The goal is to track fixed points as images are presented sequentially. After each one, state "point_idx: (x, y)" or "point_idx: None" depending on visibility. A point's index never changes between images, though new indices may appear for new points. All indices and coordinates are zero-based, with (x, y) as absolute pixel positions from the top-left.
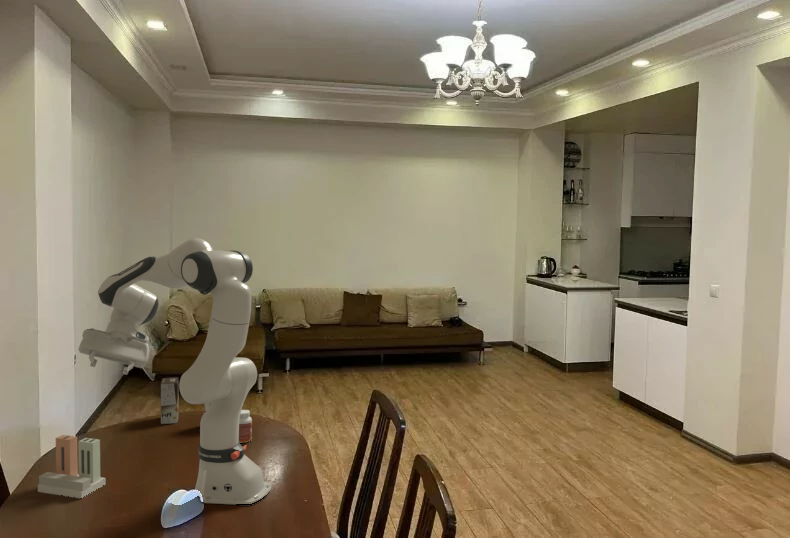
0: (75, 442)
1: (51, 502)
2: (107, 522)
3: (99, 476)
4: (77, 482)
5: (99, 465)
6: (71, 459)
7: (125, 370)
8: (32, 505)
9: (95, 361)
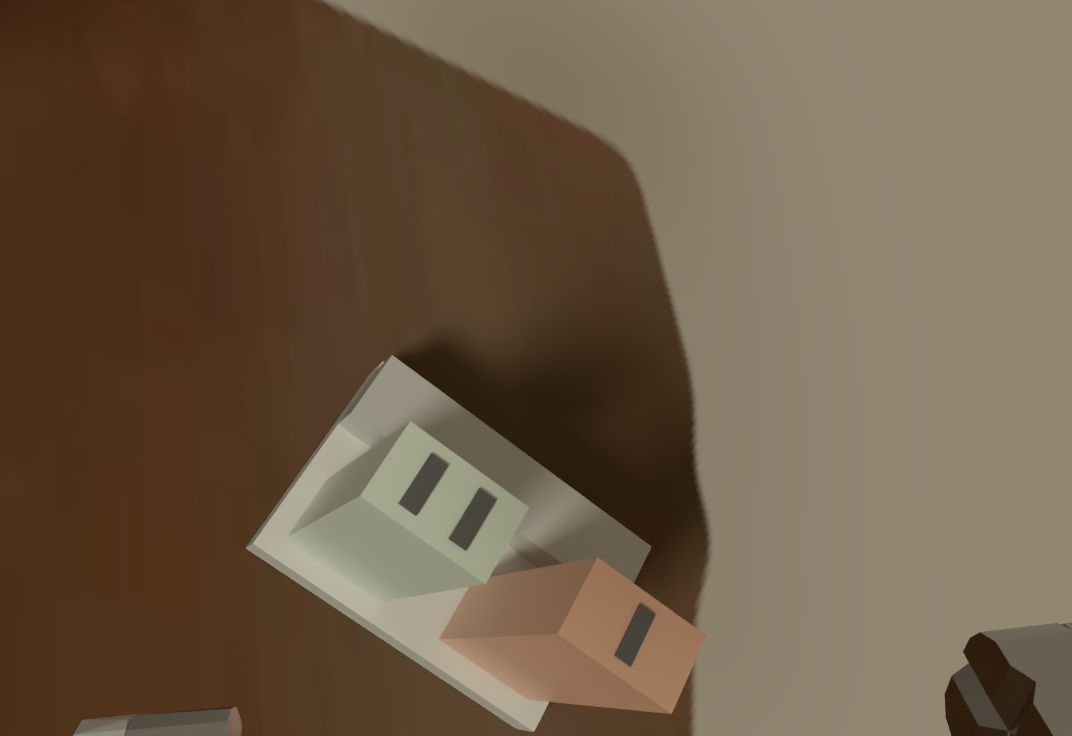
0: (547, 618)
1: (516, 381)
2: (209, 31)
3: (296, 526)
4: (423, 378)
5: (312, 518)
6: (518, 582)
7: (170, 727)
8: (595, 377)
9: (1060, 685)
